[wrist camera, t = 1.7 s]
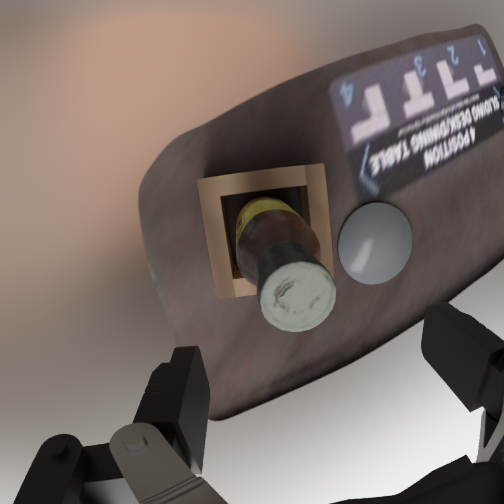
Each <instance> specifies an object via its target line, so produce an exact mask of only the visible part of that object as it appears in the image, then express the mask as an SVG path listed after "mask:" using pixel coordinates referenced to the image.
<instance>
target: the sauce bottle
mask: <svg viewBox="0 0 504 504" xmlns="http://www.w3.org/2000/svg"><path fill="white" fill-rule="evenodd" d="M236 257H237V263H238V267H239V270H240V272H241V273H242V275H243V277H244V278H245V279H246V280H247V281H248V282H250V283H251V284H252V285H254V286H256V287H257V298H258V302H259V306H260V309H261V312H262V314H263V315H264V317H265V318H266V320H268V322H269V323H271V324H272V325H273V326H275V327H277V328H279V329H280V330H285V331H291V332H301V331H304V330H309V329H311V328H313V327H315V326H317V325H319V324H320V323H321V322H322V321H323V320H324V319H325V318H326V317H327V316H328V315H329V313H330V311H331V310H332V309H333V306H334V303H335V300H336V286H335V283H334V280H333V278H332V276H331V274H330V273H329V271H328V270H327V269H326V268H325V266H324V265H323V264H322V263H320V262H321V247H320V243H319V240H318V238H317V237H316V234H315V232H314V231H313V230H312V229H311V228H310V227H309V225H308V224H307V222H306V221H305V220H304V219H303V218H302V217H301V216H299V215H298V214H297V213H296V212H295V211H294V210H293V209H292V208H290V207H289V206H288V205H287V204H286V203H284V202H283V201H282V200H280V199H278V198H274V197H270V196H269V197H267V196H266V197H257V198H254V199H252V200H250V201H249V202H247V204H245V205H244V207H243V208H242V209H241V211H240V212H239V214H238V217H237V222H236Z"/></svg>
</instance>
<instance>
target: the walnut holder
mask: <svg viewBox="0 0 504 504" xmlns="http://www.w3.org/2000/svg"><path fill="white" fill-rule="evenodd" d="M197 184H198V191H199V197H200V203H201V210H202V216H203V222H204V228H205V234H206V240H207V246H208V252H209V257H210V263H211V268H212V274H213V279H214V285H215V290H216V295H217V299H224V298H232V297H240V296H247V295H255V294H257V287H256V286H254V285H252V284H251V283H250V282H248V281H247V280H246V279H245V278H244V277H243V275H242V273H241V272H240V270H239V267H238V264H235V265H234V260H233V254H232V248H231V241H230V235H229V228H228V222H227V215H226V208H225V202H224V196H225V195H232V194H239V193H246V192H253V191H261V190H269V189H277V188H285V187H293V186H298V190H299V199H300V208H301V217H302V218H303V219H304V220H305V221H306V222H307V224H308V225H309V227H310V228H311V229H312V230H313V231H314V232H315V234H316V237H317V238H318V240H319V243H320V247H321V262H320V263H322V264H323V265H324V266H325V268H326V269H327V270H328V271H329V273H330V274H331V276H332V278H333V280H334V274H333V256H332V242H331V229H330V217H329V206H328V196H327V187H326V177H325V169H324V163H321V164H310V165H300V166H291V167H282V168H273V169H265V170H257V171H250V172H242V173H235V174H228V175H222V176H215V177H209V178H203V179H197Z"/></svg>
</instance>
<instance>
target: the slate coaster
mask: <svg viewBox="0 0 504 504" xmlns="http://www.w3.org/2000/svg"><path fill="white" fill-rule="evenodd" d="M411 249H412V231H411V227H410V224H409V222H408V220H407V218H406V217H405V216H404V214H403V213H402V212H401V211H400V210H399V209H397V208H396V207H394V206H392V205H389V204H386V203H380V202H373V203H368V204H365V205H363V206H361V207H359V208H357V209H356V210H355V211H353V212H352V213H351V214H350V215H349V216H348V218H347V219H346V220H345V222H344V224H343V225H342V227H341V230H340V233H339V237H338V243H337V250H338V256H339V260H340V262H341V265H342V266H343V268H344V269H345V271H346V272H347V273H348V274H349V275H350V276H351V277H352V278H354V279H355V280H357V281H359V282H361V283H364V284H380V283H383V282H386V281H388V280H390V279H392V278H393V277H394V276H396V275H397V274H398V273H399V272H400V271H401V270H402V268H403V267H404V266H405V264H406V262H407V260H408V258H409V256H410V253H411Z"/></svg>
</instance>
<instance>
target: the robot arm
mask: <svg viewBox="0 0 504 504" xmlns="http://www.w3.org/2000/svg"><path fill="white" fill-rule="evenodd" d="M501 109H502V113H503V116H504V88H503V90H502V92H501ZM421 349H422V354H423V356H424V358H425V359H426V360H427V362H428V363H429V364H430V365H431V366H432V367H433V369H434V370H435V371H436V372H437V373H438V374H439V376H440V377H441V378H442V379H443V380H444V381H445V383H447V385H448V386H449V387H450V389H451V390H452V391H453V392H454V393H455V395H456V396H457V397H458V398H459V399H460V401H461V402H462V403H463V404H464V405H465V407H466V408H467V409H468V410H469V412H472V411H474V410H476V409H478V408H480V407H482V406H483V407H484V408H485V409H484V411H483V414H482V417H481V418H482V419H481V430H480V440H479V449H478V456H477V460H476V463H471V461H470V459H469V458H468V456H467V455H465V456H463V457H461V458H459V459H457V460H455V461H453V462H451V463H449V464H446V465H444V466H442V467H440V468H438V469H436V470H433V471H432V472H430V473H429V474H428V475H426V476H425V477H423V478H422V479H420V480H419V481H417V482H416V483H415V484H413V485H412V486H410V487H408V488H407V489H405V490H404V491H402V492H401V493H399V494H396V495H392V496H383V497H374V498H363V499H348V500H344V501H340V502H335V503H331V504H504V340H502V339H501V338H500V337H498V336H497V335H496V334H494V333H493V332H492V331H490V330H489V329H486V327H485V326H484V325H482V324H481V323H479V322H478V321H477V320H476V319H475V318H473V317H472V316H470V315H468V314H465V313H462V312H460V311H459V310H458V309H456V308H455V307H453V306H452V305H451V304H449V303H448V302H441V303H438V304H434V305H430V306H428V307H427V308H426V311H425V317H424V326H423V334H422V341H421ZM209 404H210V388H209V382H208V379H207V375H206V371H205V368H204V364H203V360H202V356H201V352H200V349H199V347H198V346H187V347H176V348H175V349H174V352H173V355H172V357H171V360H170V362H169V363H161V364H160V365H159V366H158V367H157V368H156V369H155V370H154V371H153V372H152V375H151V377H150V379H149V382H148V385H147V387H146V389H145V393H144V394H143V397H142V400H141V402H140V405H139V407H138V410H137V412H136V415H135V418H134V420H133V423H132V424H129V425H126V426H124V427H122V428H120V429H119V430H118V431H116V432H115V434H113V436H112V438H111V440H110V443H105V444H99V445H92V446H85V447H83V446H82V444H81V443H80V441H79V440H78V439H77V438H76V437H75V436H73V435H69V434H59V435H55V436H53V437H51V438H49V439H47V440H46V441H45V442H44V443H43V444H42V445H41V447H40V449H39V451H38V453H37V455H36V457H35V459H34V461H33V463H32V465H31V467H30V469H29V471H28V473H27V475H26V477H25V479H24V481H23V483H22V485H21V488H20V490H19V492H18V494H17V496H16V498H15V501H14V503H13V504H228V503H227V502H226V501H225V500H224V499H223V498H222V497H221V496H220V495H219V494H218V493H217V492H216V491H215V490H214V489H213V488H212V487H211V486H210V485H209V484H208V483H207V482H206V481H205V480H204V479H203V478H202V477H196V475H195V474H202V466H203V457H204V448H205V438H206V430H207V421H208V413H209Z"/></svg>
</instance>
